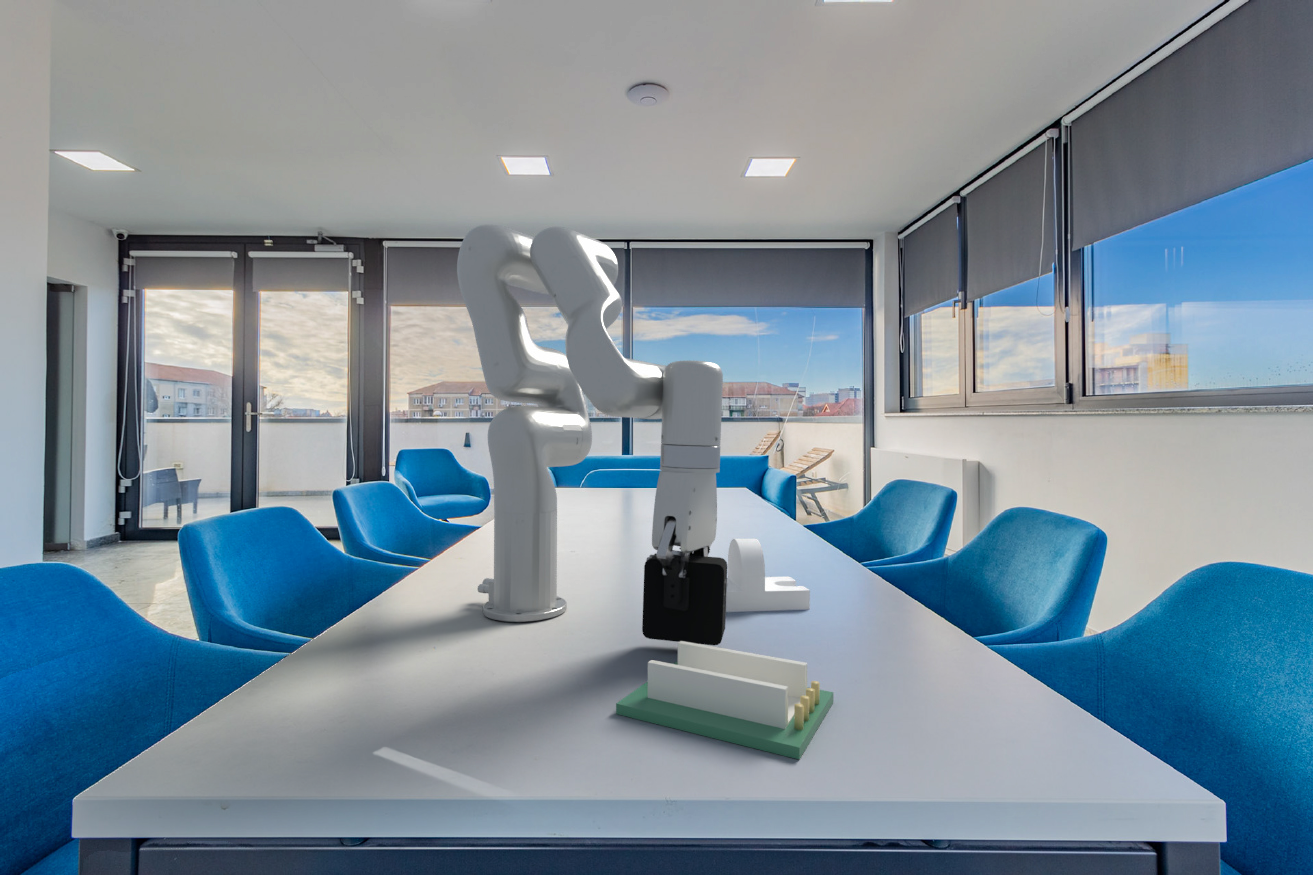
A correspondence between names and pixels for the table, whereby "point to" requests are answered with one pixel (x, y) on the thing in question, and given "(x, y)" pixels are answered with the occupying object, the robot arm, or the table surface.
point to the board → (732, 698)
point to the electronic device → (704, 602)
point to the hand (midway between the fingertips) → (685, 601)
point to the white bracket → (759, 582)
